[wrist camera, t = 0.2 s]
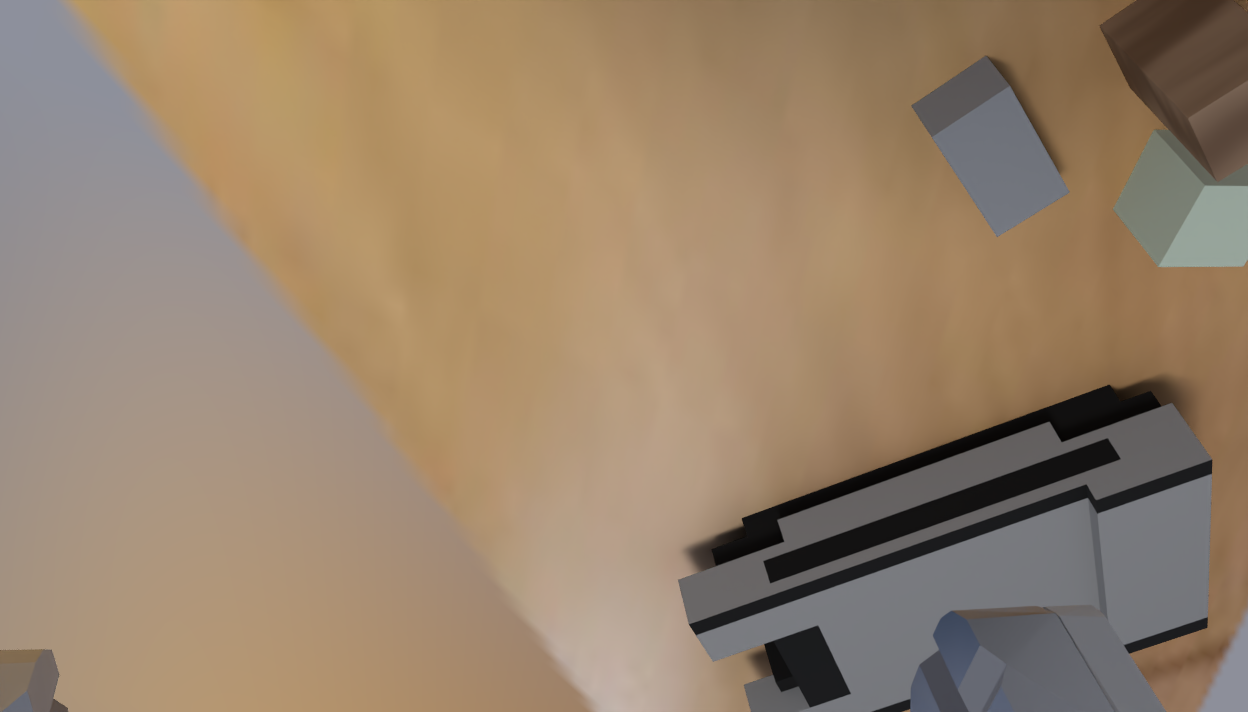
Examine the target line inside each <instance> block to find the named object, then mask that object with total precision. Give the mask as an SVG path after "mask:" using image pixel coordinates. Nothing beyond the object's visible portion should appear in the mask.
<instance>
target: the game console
mask: <svg viewBox="0 0 1248 712" xmlns="http://www.w3.org/2000/svg"><path fill="white" fill-rule="evenodd" d="M1211 486H1212V458H1211V457H1210V456H1209V454H1208V453H1207V451H1206V450H1205V449H1204V447H1203V446H1202V444H1201V443H1200V441H1199V440H1198V439H1197V437H1196V436H1195V434H1194V433H1193V432H1192V430H1191V429H1190V427H1189V426H1188V425H1187V423H1186V422H1185V420H1184V419H1183V417H1182V416H1181V415H1180V413H1179V412H1178V410H1177V409H1176V408H1175V406H1174V405H1173V403H1170V404H1167V405H1165V406H1161V405H1160V404H1159V402H1158V401H1157V399H1156V398H1155V396H1154V395H1153V394H1152V392H1151V391H1149V392H1146V393H1144V394H1141V395H1138V396H1135V397H1133V398H1130V399H1127V400H1124V401H1120V400H1119V398H1118V397H1117V395H1116V394H1115V392H1114V391H1113V389H1112V388H1111V386H1110V385H1107V386H1104V387H1102V388H1099V389H1096V390H1093V391H1091V392H1088V393H1085V394H1082V395H1080V396H1077V397H1074V398H1071V399H1069V400H1066V401H1063V402H1060V403H1058V404H1055V405H1052V406H1049V407H1047V408H1044V409H1041V410H1038V411H1036V412H1033V413H1030V414H1027V415H1025V416H1022V417H1019V418H1016V419H1014V420H1011V421H1008V422H1005V423H1003V424H1000V425H997V426H994V427H992V428H989V429H986V430H983V431H981V432H978V433H975V434H972V435H970V436H967V437H964V438H961V439H959V440H956V441H953V442H950V443H948V444H945V445H942V446H939V447H937V448H934V449H931V450H928V451H926V452H923V453H920V454H917V455H915V456H912V457H909V458H906V459H904V460H901V461H898V462H895V463H893V464H890V465H887V466H884V467H882V468H879V469H876V470H873V471H871V472H868V473H865V474H862V475H860V476H857V477H854V478H851V479H849V480H846V481H843V482H840V483H838V484H835V485H832V486H829V487H827V488H824V489H821V490H818V491H816V492H813V493H810V494H807V495H805V496H802V497H799V498H796V499H794V500H791V501H788V502H785V503H783V504H780V505H777V506H774V507H772V508H769V509H766V510H763V511H761V512H758V513H755V514H752V515H750V516H747V517H744V518H742V521H743V524H744V527H745V531H746V534H747V537H744V538H742V539H739V540H736V541H733V542H731V543H728V544H725V545H722V546H720V547H717V548H714V549H712V553H713V556H714V560H715V564H716V567H713V568H710V569H707V570H704V571H702V572H699V573H696V574H693V575H690V576H688V577H685V578H682V579H679V580H678V582H679V586H680V590H681V594H682V598H683V602H684V606H685V610H686V614H687V619H688V623H689V625H690V627H691V628H692V630H693V631H694V633H695V635H696V636H697V638H698V639H699V641H700V642H701V644H702V645H703V647H704V648H705V650H706V651H707V653H708V655H709V656H710V658H711V659H712V661H713V662H714V661H716V660H719V659H722V658H725V657H728V656H731V655H734V654H737V653H739V652H742V651H745V650H748V649H751V648H754V647H757V646H760V645H763V644H764V645H765V648H766V652H767V655H768V659H769V662H770V665H771V669H772V672H773V675H771V676H768V677H765V678H762V679H759V680H756V681H753V682H751V683H748V684H745V685H744V687H745V691H746V695H747V698H748V702H749V706H750V710H751V712H903V711H906V710H909V709H910V702H911V685H912V682H913V680H914V677H915V675H916V672H917V669H918V667H919V665H920V664H921V663H922V662H924V661H925V660H926V659H928V658H929V657H930V656H932V655H933V654H934V653H936V652H937V651H938V650H939V648H938V646H937V644H936V642H935V640H934V637H933V633H934V631H935V629H936V627H937V625H938V623H939V621H940V618H942V617H943V616H944V615H946V614H947V613H949V612H950V611H953V610H971V609H989V608H1007V607H1025V606H1039V607H1048V606H1071V605H1092V606H1094V607H1095V608H1096V609H1098V610H1099V611H1100V612H1102V613H1103V615H1104V616H1105V617H1106V618H1107V620H1108V622H1109V623H1110V625H1111V626H1112V628H1113V629H1114V631H1115V633H1116V634H1117V636H1118V637H1119V639H1120V640H1121V642H1122V643H1123V645H1124V647H1125V648H1126V650H1127V651H1128V653H1132V652H1135V651H1138V650H1142V649H1145V648H1148V647H1151V646H1154V645H1157V644H1160V643H1163V642H1166V641H1169V640H1172V639H1175V638H1178V637H1181V636H1184V635H1187V634H1190V633H1193V632H1196V631H1199V630H1202V629H1205V628H1207V623H1208V589H1209V554H1210V520H1211Z"/></svg>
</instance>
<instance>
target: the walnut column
mask: <svg viewBox="0 0 1248 712" xmlns="http://www.w3.org/2000/svg"><path fill="white" fill-rule="evenodd" d="M1099 26H1100V28H1101V30H1102V32H1103V34H1104V36H1105V38H1106V40H1107V42H1108V44H1109V46H1110V48H1111V50H1112V52H1113V54H1114V56H1115V58H1116V60H1117V62H1118V64H1119V66H1120V68H1121V70H1122V72H1123V74H1124V76H1125V78H1126V80H1127V82H1128V84H1129V86H1130V88H1131V89H1132V90H1133V91H1134V93H1135V94H1136V95H1137V96H1138V97H1139V98H1140V99H1141V100H1142V101H1143V102H1144V103H1145V104H1146V106H1147V107H1148V108H1149V109H1150V110H1151V111H1152V112H1153V113H1154V114H1155V115H1156V116H1157V117H1158V118H1159V120H1160V121H1161V122H1162V123H1163V124H1164V125H1165V126H1166V127H1167V128H1168V129H1169V130H1170V131H1171V133H1172V134H1173V135H1174V136H1175V137H1176V138H1177V139H1178V140H1179V141H1180V142H1181V143H1182V144H1183V145H1184V147H1185V148H1186V149H1187V150H1188V151H1189V152H1190V153H1191V154H1192V155H1193V156H1194V157H1195V158H1196V160H1197V161H1198V162H1199V163H1200V164H1201V165H1202V166H1203V167H1204V168H1205V169H1206V170H1207V171H1208V173H1209V174H1210V175H1211V176H1212V177H1213V178H1214V179H1215V180H1216V181H1217V182H1219V181H1220V180H1222V179H1224V178H1225V177H1227V176H1229V175H1230V174H1232V173H1233V172H1235V171H1237V170H1238V169H1240V168H1242V167H1243V166H1245V165H1247V164H1248V13H1247V12H1246V11H1245V10H1244V9H1243V8H1241V7H1240V6H1239V5H1238V4H1237V3H1236V2H1234V1H1233V0H1136V1H1135V2H1133V3H1132V4H1130V5H1129V6H1127V7H1126V8H1125V9H1123V10H1122V11H1120V12H1119V13H1117V14H1116V15H1114V16H1113V17H1111V18H1110V19H1108V20H1107V21H1105V22H1104V23H1102V24H1101V25H1099Z"/></svg>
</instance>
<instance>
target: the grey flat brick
mask: <svg viewBox="0 0 1248 712" xmlns="http://www.w3.org/2000/svg"><path fill="white" fill-rule="evenodd" d="M912 108H913V109H914V111H915V112H916V114H917V115H918V117H919V118H920V120H921V121H922V123H923V125H924V126H925V128H926V129H927V131H928V132H929V134H930V135H931V137H932V138H933V140H934V141H935V143H936V144H937V146H938V147H939V149H940V150H941V152H942V154H943V155H944V157H945V158H946V160H947V161H948V163H949V164H950V166H951V167H952V169H953V170H954V172H955V173H956V175H957V176H958V178H959V180H960V181H961V183H962V184H963V186H964V187H965V189H966V190H967V192H968V193H969V195H970V196H971V198H972V199H973V201H974V202H975V204H976V205H977V207H978V209H979V210H980V212H981V213H982V215H983V216H984V218H985V219H986V221H987V222H988V224H989V225H990V227H991V228H992V230H993V231H994V233H995V234H996V236H997V237H998V236H1000V235H1001V234H1003V233H1004V232H1006V231H1008V230H1009V229H1011V228H1013V227H1014V226H1016V225H1017V224H1019V223H1021V222H1022V221H1024V220H1026V219H1027V218H1029V217H1030V216H1032V215H1034V214H1035V213H1037V212H1039V211H1040V210H1042V209H1043V208H1045V207H1047V206H1048V205H1050V204H1052V203H1053V202H1055V201H1056V200H1058V199H1060V198H1061V197H1063V196H1065V195H1066V194H1068V193H1069V190H1068V188H1067V187H1066V185H1065V183H1064V181H1063V180H1062V178H1061V176H1060V174H1059V172H1058V171H1057V169H1056V167H1055V165H1054V163H1053V162H1052V160H1051V158H1050V156H1049V155H1048V153H1047V151H1046V149H1045V147H1044V146H1043V144H1042V142H1041V140H1040V139H1039V137H1038V135H1037V133H1036V131H1035V130H1034V128H1033V126H1032V124H1031V122H1030V121H1029V119H1028V117H1027V115H1026V114H1025V112H1024V110H1023V108H1022V106H1021V105H1020V103H1019V101H1018V99H1017V98H1016V96H1015V94H1014V92H1013V90H1012V89H1011V87H1010V85H1009V84H1008V83H1007V81H1006V80H1005V79H1004V78H1003V76H1002V75H1001V74H1000V73H999V71H998V70H997V69H996V67H995V66H994V65H993V64H992V62H991V61H990V60H989V59H988V57H987V56H985V57H983V58H982V59H980V60H979V61H977V62H976V63H974V64H973V65H971V66H970V67H968V68H967V69H965V70H964V71H962V72H961V73H959V74H958V75H956V76H955V77H953V78H952V79H950V80H949V81H948V82H946V83H945V84H943V85H942V86H940V87H939V88H937V89H936V90H934V91H933V92H931V93H930V94H928V95H927V96H925V97H924V98H922V99H921V100H919V101H918V102H916V103H915V104H913V105H912Z"/></svg>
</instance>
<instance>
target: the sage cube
mask: <svg viewBox="0 0 1248 712" xmlns="http://www.w3.org/2000/svg"><path fill="white" fill-rule="evenodd" d="M1113 210H1114V211H1115V212H1116V214H1117V215H1118V216H1119V218H1120V219H1121V220H1122V221H1123V223H1124V224H1125V225H1126V226H1127V228H1128V229H1129V230H1130V231H1131V233H1132V234H1133V235H1134V237H1135V238H1136V239H1137V240H1138V242H1139V243H1140V244H1141V245H1142V247H1143V248H1144V249H1145V250H1146V252H1147V253H1148V254H1149V256H1150V257H1151V258H1152V259H1153V261H1154V262H1155V263H1156V264H1157V266H1158V267H1223V266H1244V264H1245V263H1246V261H1247V260H1248V164H1247V165H1245V166H1243V167H1242V168H1240V169H1238V170H1237V171H1235V172H1233V173H1232V174H1230V175H1229V176H1227V177H1225V178H1224V179H1222V180H1220V181H1219V182H1217V181H1216V180H1215V179H1214V178H1213V177H1212V176H1211V175H1210V174H1209V173H1208V171H1207V170H1206V169H1205V168H1204V167H1203V166H1202V165H1201V164H1200V163H1199V162H1198V161H1197V160H1196V158H1195V157H1194V156H1193V155H1192V154H1191V153H1190V152H1189V151H1188V150H1187V149H1186V148H1185V147H1184V145H1183V144H1182V143H1181V142H1180V141H1179V140H1178V139H1177V138H1176V137H1175V136H1174V135H1173V134H1172V133H1171V131H1170V130H1154V131H1153V133H1152V135H1151V136H1150V138H1149V140H1148V142H1147V144H1146V146H1145V148H1144V150H1143V152H1142V154H1141V156H1140V158H1139V160H1138V162H1137V164H1136V166H1135V168H1134V169H1133V171H1132V173H1131V175H1130V177H1129V179H1128V181H1127V183H1126V185H1125V187H1124V189H1123V191H1122V193H1121V195H1120V197H1119V199H1118V201H1117V203H1116V204H1115V206H1114V208H1113Z"/></svg>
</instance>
